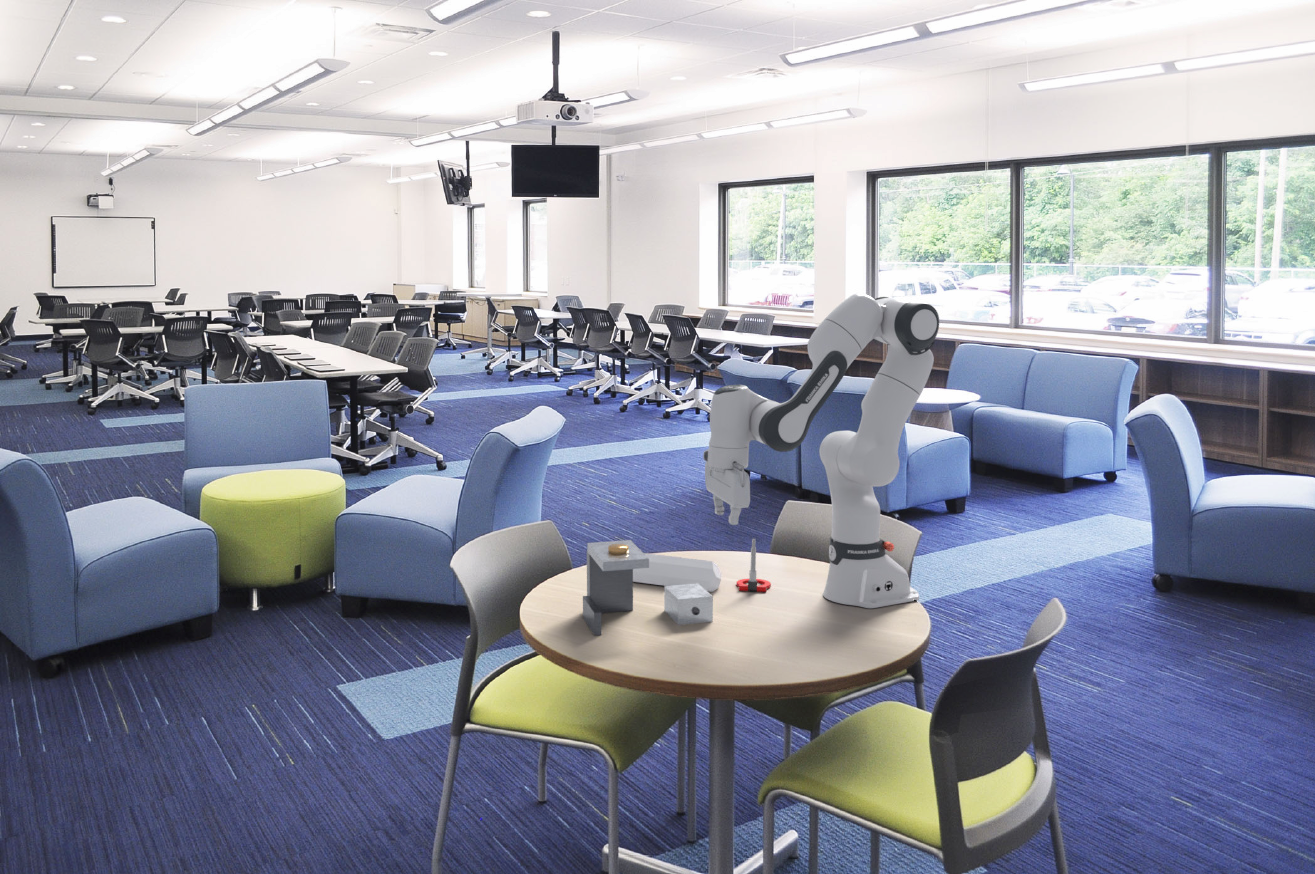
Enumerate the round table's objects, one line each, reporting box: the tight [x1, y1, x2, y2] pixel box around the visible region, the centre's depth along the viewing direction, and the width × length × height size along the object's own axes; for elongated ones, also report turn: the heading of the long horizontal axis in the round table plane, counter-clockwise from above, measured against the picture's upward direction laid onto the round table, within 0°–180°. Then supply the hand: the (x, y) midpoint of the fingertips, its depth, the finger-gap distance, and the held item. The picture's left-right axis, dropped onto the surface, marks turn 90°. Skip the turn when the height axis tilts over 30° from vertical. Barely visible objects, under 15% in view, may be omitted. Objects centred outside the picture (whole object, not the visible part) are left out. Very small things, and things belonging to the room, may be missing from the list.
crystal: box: [633, 552, 722, 593], centre depth 260 cm, size 7×7×24 cm
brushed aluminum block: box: [663, 583, 714, 626], centre depth 237 cm, size 8×10×6 cm
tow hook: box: [735, 538, 772, 593], centre depth 259 cm, size 8×13×9 cm
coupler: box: [582, 539, 649, 637], centre depth 233 cm, size 12×17×17 cm
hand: (726, 519), depth 237 cm, fingers open, 8 cm apart
